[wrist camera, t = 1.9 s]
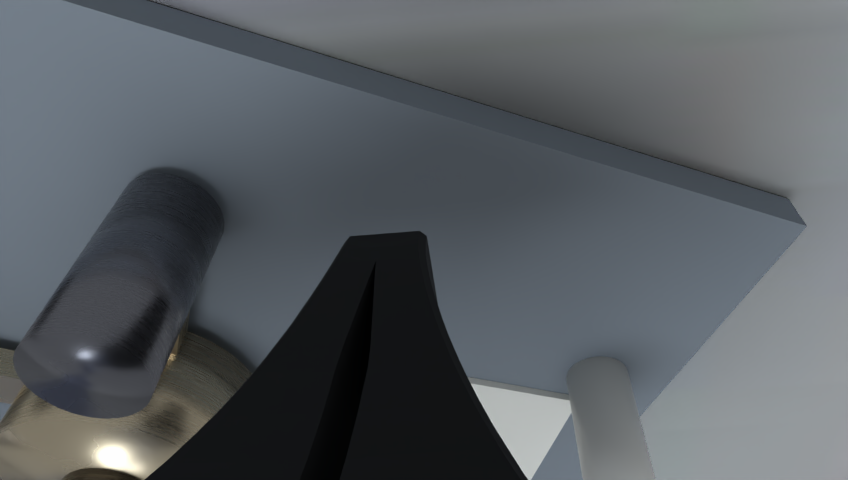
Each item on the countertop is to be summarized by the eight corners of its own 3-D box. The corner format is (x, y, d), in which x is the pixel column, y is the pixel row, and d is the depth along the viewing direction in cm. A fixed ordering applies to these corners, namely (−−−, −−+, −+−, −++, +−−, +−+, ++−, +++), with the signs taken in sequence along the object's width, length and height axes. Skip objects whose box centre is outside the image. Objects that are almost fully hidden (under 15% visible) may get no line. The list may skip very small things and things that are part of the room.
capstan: (362, 568, 24) (347, 709, 21) (-94, 485, 22) (-196, 631, 18) (531, 271, 15) (554, 440, 11) (-237, 64, 12) (-502, 202, 9)
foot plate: (468, 585, 28) (469, 610, 27) (-159, 471, 24) (-180, 496, 23) (788, 198, 15) (806, 225, 14) (-455, -186, 11) (-523, -178, 10)
